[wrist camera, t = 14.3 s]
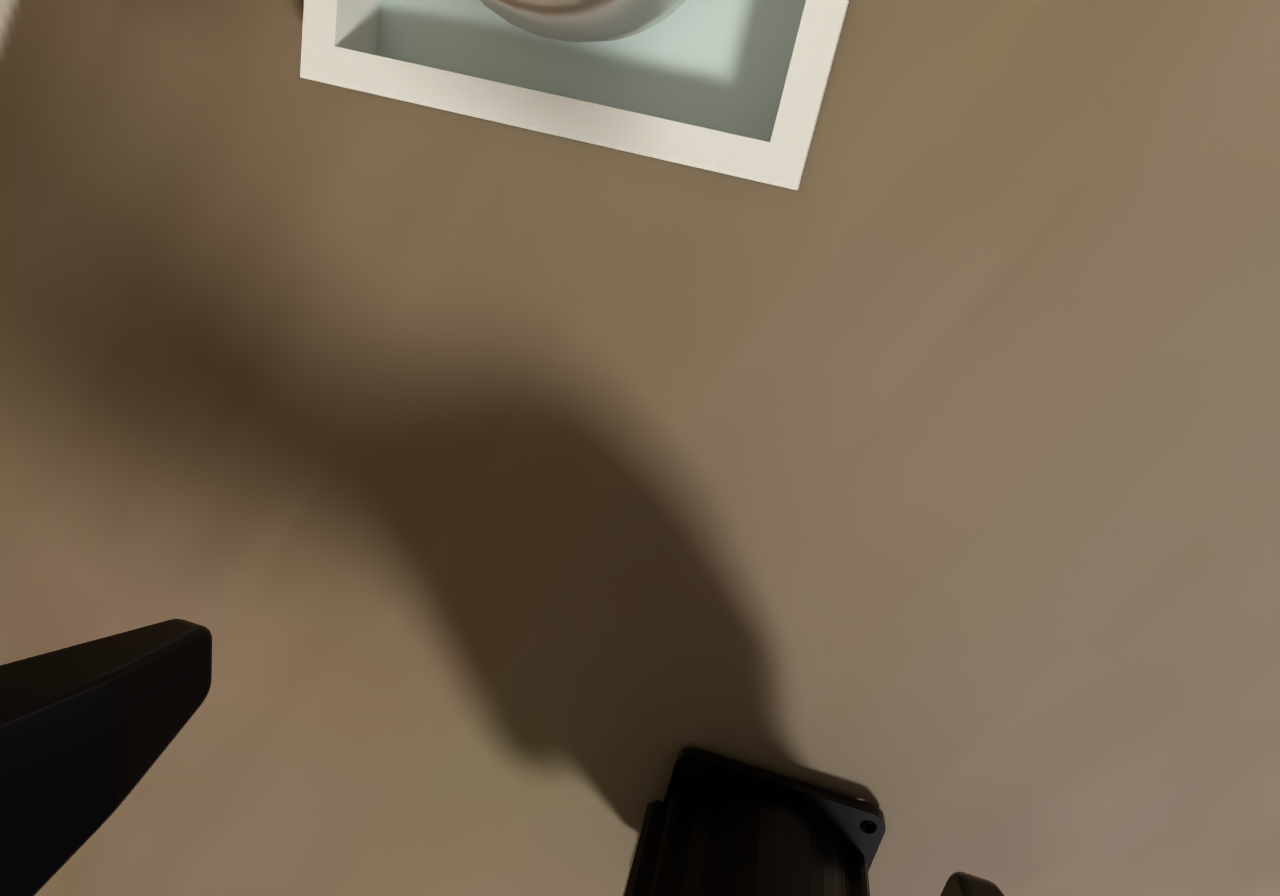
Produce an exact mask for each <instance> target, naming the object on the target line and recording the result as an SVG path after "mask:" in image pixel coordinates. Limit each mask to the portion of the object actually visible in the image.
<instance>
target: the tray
mask: <svg viewBox="0 0 1280 896" xmlns="http://www.w3.org/2000/svg"><path fill="white" fill-rule="evenodd" d="M848 4H849V0H687V1H686V2H685V3H684V4H682V5H681V6H680V7H679V8H678V9H677V10H676V11H674V12H673V13H672V14H671V15H670V16H669V17H667V18H666V19H665V20H663V21H661V22H660V23H658V24H656V25H654V26H652V27H650V28H649V29H647V30H645V31H643V32H641V33H639V34H636V35H632V36H629V37H625V38H622V39H619V40H615V41H602V42H567V41H561V40H556V39H550V38H545V37H539V36H537V35H535V34H532V33H530V32H528V31H525V30H523V29H521V28H518V27H516V26H514V25H511V24H510V23H508V22H507V21H506V20H504V19H503V18H501V17H500V16H499V15H497V14H496V13H494V12H493V11H492V10H490V9H489V8H487V7H486V6H485V5H484V4H483V3H482V2H481V1H480V0H304V11H303V31H302V51H301V70H300V77H301V78H305V79H310V80H314V81H319V82H323V83H327V84H332V85H336V86H341V87H345V88H349V89H354V90H358V91H363V92H367V93H371V94H376V95H380V96H385V97H389V98H393V99H398V100H402V101H407V102H411V103H415V104H420V105H424V106H429V107H433V108H437V109H442V110H446V111H451V112H455V113H459V114H464V115H468V116H473V117H477V118H481V119H486V120H490V121H495V122H499V123H503V124H508V125H512V126H517V127H521V128H525V129H530V130H534V131H539V132H543V133H547V134H552V135H556V136H561V137H565V138H569V139H574V140H578V141H583V142H587V143H591V144H596V145H600V146H605V147H609V148H613V149H618V150H622V151H627V152H631V153H635V154H640V155H644V156H649V157H653V158H657V159H662V160H666V161H671V162H675V163H679V164H684V165H688V166H693V167H697V168H701V169H706V170H710V171H715V172H719V173H723V174H728V175H732V176H736V177H741V178H745V179H750V180H754V181H758V182H763V183H767V184H772V185H776V186H780V187H785V188H789V189H794V190H798V189H799V185H800V181H801V178H802V174H803V170H804V167H805V163H806V159H807V156H808V152H809V148H810V144H811V141H812V137H813V133H814V130H815V126H816V122H817V119H818V115H819V111H820V108H821V104H822V100H823V96H824V93H825V89H826V85H827V82H828V78H829V74H830V71H831V67H832V63H833V60H834V56H835V52H836V48H837V45H838V41H839V37H840V34H841V30H842V26H843V23H844V19H845V15H846V11H847V8H848Z"/></svg>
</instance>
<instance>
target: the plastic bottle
mask: <svg viewBox="0 0 1280 896" xmlns="http://www.w3.org/2000/svg"><path fill="white" fill-rule="evenodd" d="M480 1H481V2H482V3H483V4H484V5H485V6H486V7H487V8H489V9H490V10H492V11H493V12H494V13H496V14H497V15H499V16H500V17H501V18H503V19H504V20H506V21H507V22H508V23H510V24H511V25H514V26H516V27H518V28H521V29H523V30H525V31H528V32H530V33H532V34H535V35H537V36H539V37H545V38H550V39H556V40H561V41H567V42H602V41H615V40H619V39H622V38H625V37H629V36H632V35H636V34H639V33H641V32H643V31H645V30H647V29H649V28H650V27H652V26H654V25H656V24H658V23H660V22H661V21H663V20H665V19H666V18H667V17H669V16H670V15H671V14H672V13H673V12H674V11H676V10H677V9H678V8H679V7H680V6H681V5H682V4H684V3H685V2H686V1H687V0H480Z"/></svg>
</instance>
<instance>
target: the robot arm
mask: <svg viewBox="0 0 1280 896" xmlns="http://www.w3.org/2000/svg"><path fill="white" fill-rule="evenodd" d="M211 674H212V635H211V633H210V631H209V629H207V628H206V627H204V626H201V625H198V624H195V623H192V622H189V621H186V620H182V619H172V620H168V621H164V622H161V623H157V624H153V625H150V626H146V627H142V628H138V629H135V630H131V631H127V632H123V633H120V634H116V635H112V636H109V637H105V638H101V639H97V640H94V641H90V642H86V643H82V644H79V645H75V646H71V647H68V648H64V649H60V650H56V651H53V652H49V653H45V654H41V655H38V656H34V657H30V658H27V659H23V660H19V661H15V662H12V663H8V664H4V665H0V896H34V895H35V894H36V893H37V892H38V891H39V890H40V889H41V888H42V887H43V886H44V885H45V884H46V883H47V882H48V881H49V880H50V879H51V877H52V876H53V875H54V874H55V873H56V872H57V871H58V870H59V869H60V868H61V867H62V866H63V865H64V864H65V863H66V862H67V861H68V860H69V859H70V858H71V857H72V856H73V855H74V854H75V853H76V852H77V850H78V849H79V848H80V847H81V846H82V845H83V844H84V843H85V842H86V841H87V840H88V839H89V838H90V837H91V836H92V835H93V834H94V833H95V832H96V831H97V830H98V829H99V828H100V826H101V825H102V824H103V823H104V822H105V821H106V820H107V819H108V818H109V817H110V816H111V815H112V813H113V812H114V811H115V810H116V809H117V808H118V807H119V805H120V804H121V803H122V802H123V801H124V800H125V798H126V797H127V796H128V795H129V794H130V793H131V791H132V790H133V789H134V788H135V786H136V785H137V784H138V783H139V781H140V780H141V779H142V778H143V776H144V775H145V774H146V773H147V771H148V770H149V769H150V768H151V766H152V765H153V764H154V763H155V761H156V760H157V759H158V758H159V756H160V755H161V754H162V753H163V752H164V750H165V749H166V748H167V747H168V745H169V744H170V743H171V742H172V740H173V739H174V738H175V737H176V735H177V734H178V733H179V732H180V730H181V729H182V728H183V727H184V725H185V724H186V723H187V722H188V720H189V719H190V718H191V717H192V715H193V714H194V713H195V712H196V710H197V709H198V708H199V707H200V705H201V704H202V703H203V701H204V700H205V698H206V696H207V694H208V692H209V689H210V685H211ZM688 762H689V763H693V764H695V765H696V766H697V767H689V766H688V765H686V763H688ZM864 820H871V821H873V823H870V824H867V823H863V822H862V821H864ZM885 828H886V827H885V818H884V815H883V812H882V811H881V810H880V809H879V808H878V807H876V806H875V805H873V804H869V803H866V802H863V801H860V800H857V799H854V798H851V797H848V796H844V795H841V794H838V793H835V792H832V791H829V790H826V789H823V788H819V787H816V786H813V785H810V784H807V783H804V782H801V781H798V780H794V779H791V778H788V777H785V776H782V775H779V774H776V773H772V772H769V771H766V770H763V769H760V768H757V767H754V766H751V765H747V764H744V763H741V762H738V761H735V760H732V759H729V758H726V757H722V756H719V755H716V754H713V753H710V752H707V751H704V750H701V749H697V748H692V747H687V748H683V749H682V750H680V751H679V752H678V754H677V756H676V760H675V763H674V767H673V770H672V774H671V777H670V781H669V784H668V787H667V791H666V794H665V798H664V801H663V802H662V801H659V800H656V799H655V800H653V801H652V802H650V803H648V805H647V808H646V812H645V815H644V819H643V822H642V826H641V830H640V833H639V837H638V840H637V844H636V847H635V851H634V855H633V858H632V862H631V866H630V870H629V873H628V877H627V881H626V885H625V889H624V893H623V896H870V891H869V880H868V870H869V868H870V866H871V863H872V861H873V859H874V856H875V854H876V852H877V849H878V847H879V845H880V842H881V840H882V838H883V835H884V833H885ZM940 896H1004V894H1003V893H1002V892H1001V890H1000V889H999V888H998V887H997V886H996V885H995V884H994V883H992V882H990V881H988V880H985V879H982V878H979V877H976V876H973V875H970V874H967V873H964V872H955V873H953V874H952V875H951V876H950V878H949V879H948V881H947V883H946V885H945V887H944V889H943V891H942V893H941V895H940Z"/></svg>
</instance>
